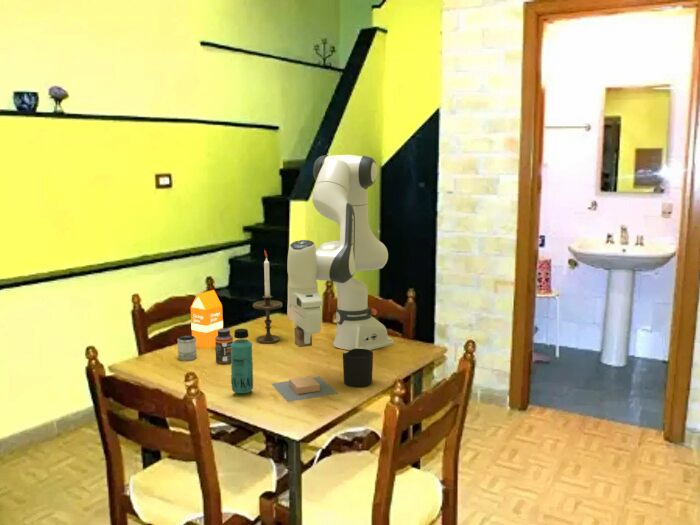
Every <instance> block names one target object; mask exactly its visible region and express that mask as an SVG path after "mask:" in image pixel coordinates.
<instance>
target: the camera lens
mask: <svg viewBox="0 0 700 525" xmlns="http://www.w3.org/2000/svg"><path fill="white" fill-rule="evenodd" d="M177 354H178V359H179V360H180V361H182V362H183V361H184V362H187V361H193V360H195V359H196V358H197V346H196V338H195V337H194V336H192V334H187V335H181V336H179V337H178V338H177Z"/></svg>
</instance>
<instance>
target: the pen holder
mask: <svg viewBox="0 0 700 525" xmlns="http://www.w3.org/2000/svg"><path fill="white" fill-rule="evenodd" d="M373 363H374V352H373V351H372V350H367V349H359V348H357V349H352V350H347V352H343V353H342V366H343V369H342V370H343V372H342V373H343V383H344V385H345V386H347V387H350V388H357V389H358V388H367V387H369V386H371V385H372V382H373V368H374V367H373V365H374V364H373Z"/></svg>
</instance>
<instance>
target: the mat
mask: <svg viewBox="0 0 700 525" xmlns="http://www.w3.org/2000/svg"><path fill="white" fill-rule="evenodd" d="M312 378H313V379H314V380H316V381H317V382H318V383H319V384H320V391H315V392H309V393H302V394H297V393H296V392H295V391H294V390H293V389H292V388H291V387H290V386H289V380H286V381H281V382H274V383H271V385H272V386H273V387H274V389H275V390H276V391H277V392H278V393H279V395H281V397H282V398H283V399H284V400H285V401H286V402H287V403H290V402H295V401H302V400H308V399H309V400H310V399H313V398H320V397H326V396H331V395H333V396H334V395H338V394H339V392H338V391H337V390H336V389H334V388H333V387H332V386H331V385H330V384H329V383H327V382H326V381H325V380H324V379H323V378H322V377H320V376H314V377H312Z"/></svg>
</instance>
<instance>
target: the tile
mask: <svg viewBox="0 0 700 525" xmlns="http://www.w3.org/2000/svg"><path fill="white" fill-rule="evenodd" d="M288 381H289V386H290V387H291V388H292V389H293V390H294V391H295V392H296V393H297V394H302V393H309V392H315V391H320V384H319V383H318V382H317V381H316V380H314V379H313V377H312V375H307V376H301V377H295V378H289V379H288Z"/></svg>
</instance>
